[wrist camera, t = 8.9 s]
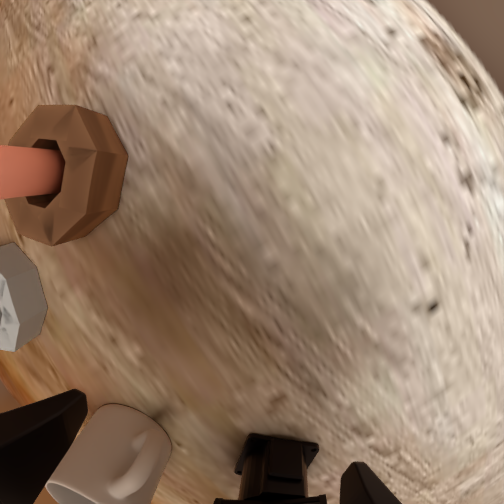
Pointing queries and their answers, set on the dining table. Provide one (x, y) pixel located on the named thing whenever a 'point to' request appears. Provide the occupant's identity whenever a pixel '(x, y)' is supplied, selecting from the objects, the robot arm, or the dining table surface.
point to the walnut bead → (70, 173)
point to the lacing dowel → (30, 171)
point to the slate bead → (19, 299)
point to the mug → (112, 460)
